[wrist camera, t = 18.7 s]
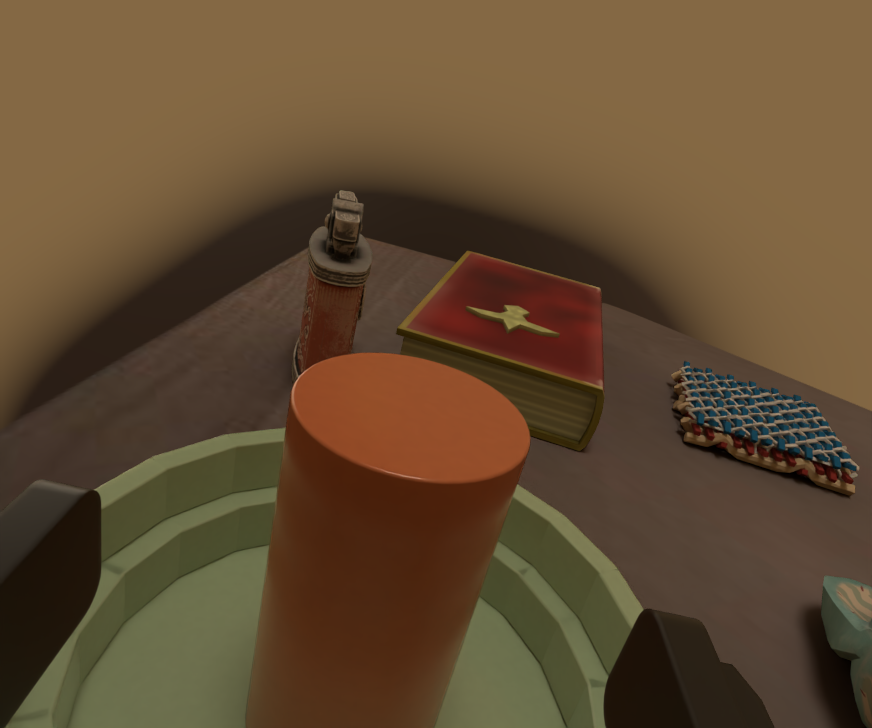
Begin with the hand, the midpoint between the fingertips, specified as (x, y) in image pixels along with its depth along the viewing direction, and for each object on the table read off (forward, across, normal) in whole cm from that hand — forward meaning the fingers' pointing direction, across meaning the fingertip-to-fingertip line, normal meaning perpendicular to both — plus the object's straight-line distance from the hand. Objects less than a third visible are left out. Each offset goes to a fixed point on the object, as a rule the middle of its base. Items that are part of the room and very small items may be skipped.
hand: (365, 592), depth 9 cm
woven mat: (+30, -23, +10) cm, 40 cm away
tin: (+5, 0, +9) cm, 11 cm away
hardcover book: (+34, -7, +10) cm, 37 cm away
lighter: (+26, +5, +10) cm, 28 cm away
